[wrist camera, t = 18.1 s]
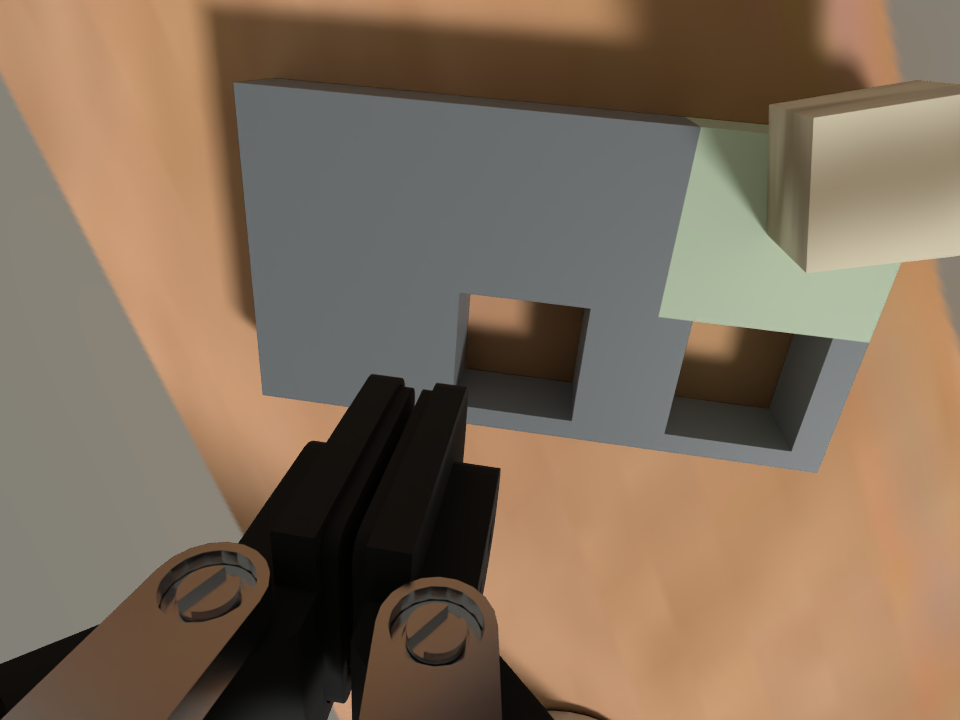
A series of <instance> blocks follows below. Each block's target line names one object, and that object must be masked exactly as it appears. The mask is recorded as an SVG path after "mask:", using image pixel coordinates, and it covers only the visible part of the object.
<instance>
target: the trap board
mask: <svg viewBox="0 0 960 720" xmlns="http://www.w3.org/2000/svg"><path fill="white" fill-rule="evenodd" d="M233 86H234V96H235V107H236V117H237V128H238V139H239V149H240V160H241V170H242V181H243V191H244V202H245V213H246V223H247V234H248V244H249V255H250V265H251V276H252V287H253V297H254V308H255V318H256V329H257V340H258V350H259V361H260V371H261V382H262V392H263V395H267V396H274V397H281V398H288V399H295V400H302V401H309V402H317V403H324V404H331V405H338V406H345V407H349V406H350V405H351V403H352V402H353V400H354V399H355V397H356V396H357V394H358V392H359V391H360V389H361V388H362V386H363V385H364V383H365V382H366V380H367V378H368V377H369V376H370V375H371V374H377V375H385V376H392V377H399V378H403V379H404V382H405V387H411V388H414V389H415V405H416V402H417V400H418V398H419V396H420V394H421V391H422V390H423V389H426V390H433V388H434V386H435V384H436V383H443V384H450V385H458V386H465V387H468V407H467V419H466V424H473V425H480V426H487V427H494V428H501V429H508V430H515V431H522V432H529V433H537V434H544V435H551V436H558V437H565V438H572V439H579V440H586V441H593V442H600V443H608V444H615V445H622V446H629V447H636V448H643V449H650V450H657V451H664V452H671V453H679V454H686V455H693V456H700V457H707V458H714V459H721V460H728V461H735V462H742V463H749V464H757V465H764V466H771V467H778V468H785V469H792V470H799V471H806V472H813V473H817V472H818V470H819V467H820V465H821V462H822V460H823V457H824V455H825V452H826V450H827V447H828V445H829V442H830V440H831V437H832V435H833V432H834V430H835V427H836V425H837V422H838V420H839V417H840V414H841V412H842V409H843V407H844V404H845V402H846V399H847V397H848V394H849V392H850V389H851V387H852V384H853V382H854V379H855V377H856V374H857V372H858V369H859V367H860V364H861V362H862V359H863V357H864V354H865V352H866V349H867V347H868V344H869V342H870V339H871V337H872V334H873V332H874V329H875V327H876V324H877V322H878V319H879V317H880V314H881V312H882V309H883V307H884V304H885V302H886V299H887V297H888V294H889V292H890V289H891V287H892V284H893V282H894V279H895V277H896V274H897V272H898V269H899V267H900V264H901V262H899V263H891V264H882V265H873V266H864V267H856V268H847V269H838V270H830V271H821V272H812V273H806V272H805V271H804V270H803V269H802V268H800V267H799V266H798V265H797V264H796V263H795V262H794V261H793V260H792V259H791V258H790V257H789V256H788V255H787V254H786V253H785V252H784V251H783V250H782V249H781V248H780V247H779V246H778V245H777V244H776V243H775V242H774V241H773V240H772V239H771V238H770V237H769V236H768V235H767V188H768V135H769V125H766V124H755V123H744V122H734V121H723V120H713V119H702V118H691V117H681V116H670V115H660V114H649V113H638V112H628V111H617V110H607V109H596V108H585V107H575V106H564V105H554V104H543V103H532V102H522V101H511V100H501V99H490V98H479V97H469V96H458V95H448V94H437V93H426V92H416V91H405V90H395V89H384V88H373V87H363V86H352V85H342V84H331V83H320V82H310V81H299V80H289V79H278V78H271V79H262V80H252V81H242V82H233ZM470 294H475V295H483V296H491V297H500V298H508V299H516V300H524V301H532V302H540V303H549V304H557V305H565V306H573V307H581V308H584V314H583V321H582V327H581V333H580V339H579V345H578V351H577V357H576V363H575V369H574V375H573V381H572V383H571V382H563V381H556V380H548V379H541V378H533V377H526V376H518V375H511V374H503V373H496V372H488V371H481V370H473V369H466V368H465V357H466V344H467V330H468V317H469V303H470ZM693 321H696V322H704V323H712V324H720V325H728V326H737V327H745V328H753V329H761V330H769V331H777V332H786V333H794V335H793V338H792V341H791V344H790V347H789V350H788V353H787V356H786V359H785V362H784V365H783V368H782V371H781V374H780V377H779V380H778V383H777V386H776V389H775V391H774V394H773V397H772V400H771V403H770V406H769V409H766V408H759V407H751V406H744V405H736V404H729V403H721V402H714V401H706V400H699V399H691V398H684V397H676V396H674V393H675V389H676V385H677V382H678V378H679V374H680V370H681V366H682V362H683V358H684V354H685V350H686V346H687V342H688V338H689V334H690V330H691V326H692V322H693Z"/></svg>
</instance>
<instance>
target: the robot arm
mask: <svg viewBox="0 0 960 720" xmlns="http://www.w3.org/2000/svg"><path fill="white" fill-rule="evenodd" d="M467 407H468V387H465V386H458V385H450V384H443V383H436V384H435V386H434V388H433V390H426V389H423V390H422V391H421V394H420V396H419V398H418V400H417V402H416V405H415V389H414V388H411V387H405V382H404V379H403V378H399V377H392V376H385V375H377V374H371V375H370V376H369V377H368V378H367V380H366V382H365V383H364V385H363V386H362V388H361V389H360V391H359V392H358V394H357V396H356V397H355V399H354V400H353V402H352V403H351V405H350V406H349V408H348V410H347V411H346V413H345V414H344V416H343V417H342V419H341V421H340V422H339V424H338V425H337V427H336V428H335V430H334V431H333V433H332V435H331V436H330V438H329V439H328V441H327V442H319V441H311V442H309V443H308V444H307V445H306V446H305V447H304V448H303V450H302V451H301V453H300V454H299V456H298V457H297V459H296V460H295V461H294V463H293V464H292V466H291V467H290V469H289V470H288V472H287V473H286V475H285V476H284V477H283V479H282V480H281V482H280V483H279V485H278V486H277V488H276V489H275V491H274V492H273V493H272V495H271V496H270V498H269V499H268V501H267V502H266V504H265V505H264V506H263V508H262V509H261V511H260V512H259V514H258V515H257V517H256V518H255V520H254V521H253V522H252V524H251V525H250V527H249V528H248V530H247V531H246V533H245V534H244V536H243V537H242V539H241V540H240V541H239V543H238V544H237V543H230V542H220V543H208V544H205V545H201V546H197V547H193V548H190V549H188V550H186V551H184V552H182V553H180V554H178V555H176V556H174V557H172V558H171V559H169V560H168V561H167V562H165V563H164V564H163V565H162V566H160V567H159V568H158V569H157V570H156V571H155V572H154V573H153V574H151V575H150V576H149V577H148V578H147V579H146V580H145V581H144V582H143V583H142V584H141V585H140V586H139V587H138V588H137V589H136V590H135V591H134V592H133V593H132V594H131V595H130V596H129V597H128V598H127V599H126V600H124V601H123V602H122V603H121V604H120V605H119V606H118V607H117V608H116V609H115V610H114V611H113V612H112V613H111V614H110V615H109V616H108V617H107V618H106V619H105V620H104V621H103V622H102V623H101V624H99V625H97V626H94V627H92V628H89V629H87V630H84V631H82V632H79V633H77V634H74V635H72V636H69V637H67V638H64V639H62V640H59V641H57V642H54V643H52V644H49V645H47V646H44V647H42V648H39V649H37V650H34V651H32V652H29V653H27V654H24V655H22V656H19V657H17V658H14V659H12V660H9V661H7V662H4V663H2V664H0V720H327V719H328V716H329V713H330V711H331V708H332V705H333V703H334V702H339V703H345V702H346V701H347V699H348V697H349V694H350V691H351V689H352V720H597V719H594V718H592V717H589V716H586V715H581V714H577V713H572V712H564V711H547V710H546V709H545V708H544V707H543V706H542V704H541V703H540V702H539V701H538V700H537V699H536V697H535V696H534V695H533V694H532V693H531V692H530V690H529V689H528V688H527V687H526V686H525V685H524V683H523V682H522V681H521V680H520V679H519V678H518V676H517V675H516V674H515V673H514V672H513V670H512V669H511V668H510V667H509V666H508V665H507V663H506V662H505V661H504V660H503V659H502V658H501V656H500V655H499V638H498V624H497V620H496V616H495V611H494V609H493V608H492V606H491V605H490V603H489V602H488V600H487V599H486V597H485V596H483V591H484V585H485V580H486V574H487V568H488V562H489V556H490V550H491V544H492V537H493V530H494V523H495V516H496V508H497V499H498V490H499V482H500V471H501V470H500V468H495V467H488V466H481V465H474V464H468V463H463V457H464V444H465V432H466V419H467Z"/></svg>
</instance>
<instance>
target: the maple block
mask: <svg viewBox="0 0 960 720" xmlns="http://www.w3.org/2000/svg"><path fill="white" fill-rule="evenodd" d="M767 235H768V236H769V237H770V238H771V239H772V240H773V241H774V242H775V243H776V244H777V245H778V246H779V247H780V248H781V249H782V250H783V251H784V252H785V253H786V254H787V255H788V256H789V257H790V258H791V259H792V260H793V261H794V262H795V263H796V264H797V265H798V266H799V267H800V268H802V269H803V270H804V271H805V272H806V273H812V272H821V271H830V270H838V269H847V268H856V267H864V266H873V265H882V264H891V263H899V262H908V261H917V260H926V259H934V258H943V257H952V256H959V255H960V84H953V83H942V82H932V81H921V80H914V81H909V82H902V83H896V84H890V85H884V86H878V87H872V88H866V89H860V90H854V91H848V92H842V93H836V94H830V95H824V96H818V97H812V98H806V99H800V100H794V101H788V102H782V103H776V104H770V105H769V135H768V188H767Z"/></svg>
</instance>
